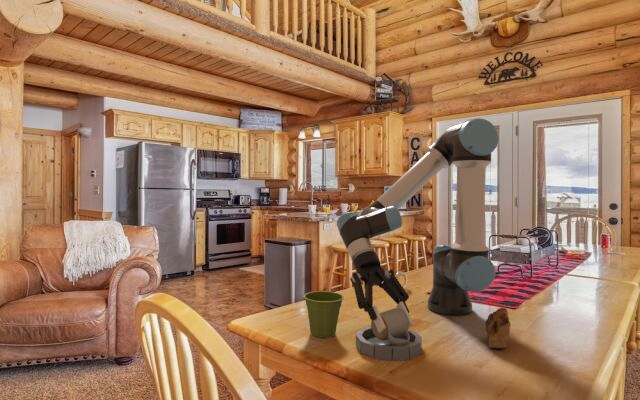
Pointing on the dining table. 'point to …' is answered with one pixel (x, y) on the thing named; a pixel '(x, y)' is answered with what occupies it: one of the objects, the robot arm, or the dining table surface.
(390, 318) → the ceramic mug
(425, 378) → the dining table surface
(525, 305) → the dining table surface
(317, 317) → the plant pot
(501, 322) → the decorative rock
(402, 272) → the ring
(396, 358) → the round tray
